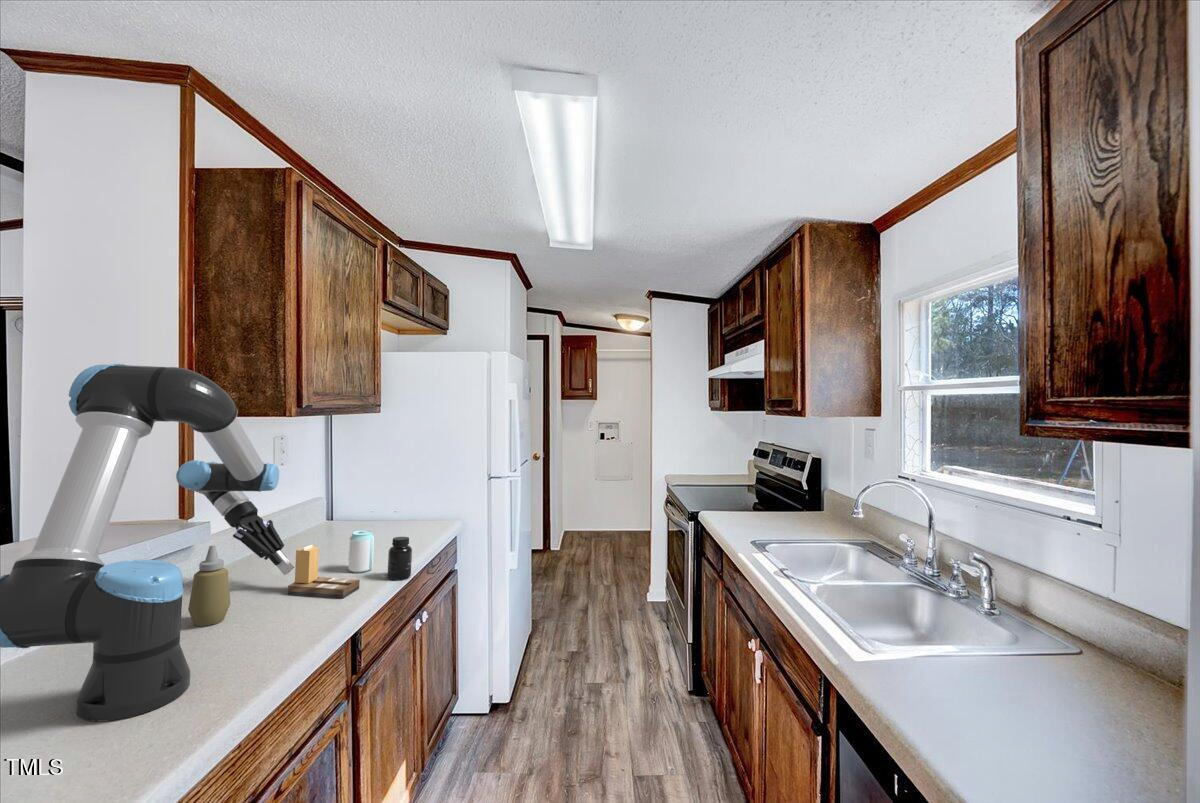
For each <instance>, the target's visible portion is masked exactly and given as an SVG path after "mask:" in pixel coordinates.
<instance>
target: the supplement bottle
mask: <svg viewBox="0 0 1200 803" xmlns="http://www.w3.org/2000/svg"><path fill="white" fill-rule="evenodd" d="M387 555H388V556H387V576H386V577H387V579H388V580H390V581H403V580H404V581H405V580H407V579H409V578H410V577H411V575H412V561H413V560H412V558H413V548H412V546H410V537H408V536H395V537H393V538H392V543H391V547H390V548H389V549H388V553H387Z"/></svg>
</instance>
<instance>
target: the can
mask: <svg viewBox="0 0 1200 803" xmlns="http://www.w3.org/2000/svg"><path fill="white" fill-rule="evenodd" d="M374 546H375V536H374V534H373V531H372V530H363V529H362V530H356V531H353V532H352V534H351V536H350V537H349V546H348V547H349V551H348V570H349V572H352V573H355V574H363V573H366V572H370V571H371V570H372V569H373V568H374V551H375V550H374V548H375V547H374Z"/></svg>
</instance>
